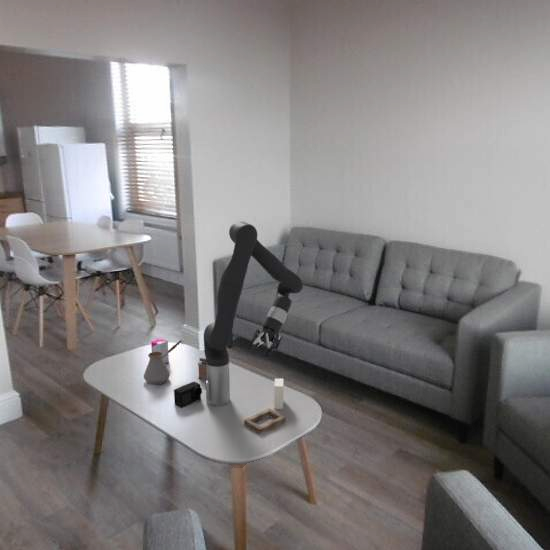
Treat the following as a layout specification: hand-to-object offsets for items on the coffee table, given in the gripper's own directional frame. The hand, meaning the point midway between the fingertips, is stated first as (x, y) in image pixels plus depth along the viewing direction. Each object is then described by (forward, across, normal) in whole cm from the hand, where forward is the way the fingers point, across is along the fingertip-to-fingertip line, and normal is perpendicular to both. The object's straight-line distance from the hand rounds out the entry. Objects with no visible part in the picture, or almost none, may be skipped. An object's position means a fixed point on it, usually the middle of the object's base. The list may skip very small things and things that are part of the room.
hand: (258, 356), depth 210 cm
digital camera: (+28, -22, -5) cm, 36 cm away
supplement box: (+16, -64, 0) cm, 66 cm away
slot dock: (+23, +10, +8) cm, 26 cm away
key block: (+13, +3, +18) cm, 23 cm away
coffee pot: (+22, -49, -4) cm, 54 cm away
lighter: (+15, -35, +8) cm, 39 cm away
